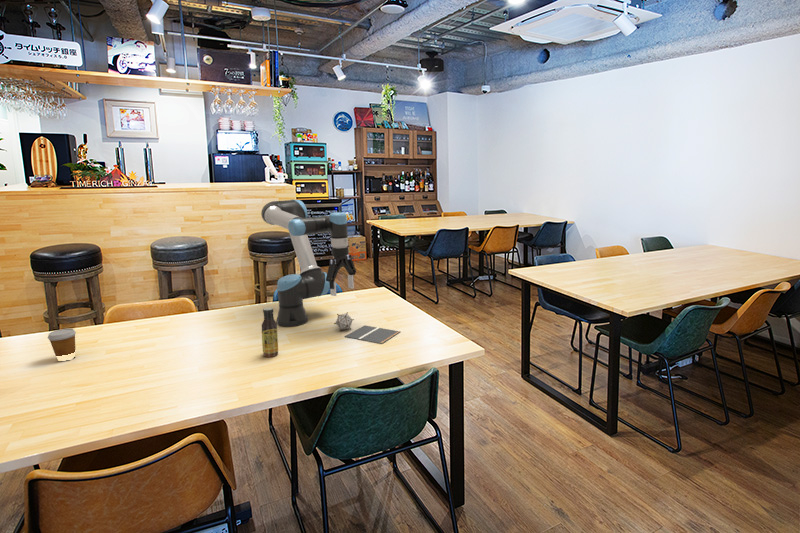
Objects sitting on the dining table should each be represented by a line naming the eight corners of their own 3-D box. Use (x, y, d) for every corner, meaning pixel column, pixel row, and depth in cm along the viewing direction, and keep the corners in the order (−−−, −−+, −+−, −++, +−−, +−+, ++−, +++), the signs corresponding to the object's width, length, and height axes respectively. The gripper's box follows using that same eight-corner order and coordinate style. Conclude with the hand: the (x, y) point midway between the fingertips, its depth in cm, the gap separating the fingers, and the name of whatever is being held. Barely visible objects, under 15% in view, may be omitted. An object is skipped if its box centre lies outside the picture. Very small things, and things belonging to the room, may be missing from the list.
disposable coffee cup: (85, 355, 194) (80, 329, 192) (63, 364, 185) (57, 336, 183) (69, 353, 197) (64, 327, 195) (47, 362, 188) (41, 334, 186)
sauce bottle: (264, 359, 184) (260, 312, 180) (261, 353, 190) (257, 308, 186) (281, 355, 187) (276, 309, 183) (277, 350, 193) (273, 305, 189)
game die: (348, 337, 215) (352, 325, 208) (330, 332, 215) (334, 319, 208) (353, 323, 222) (357, 311, 215) (336, 318, 221) (340, 305, 214)
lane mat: (344, 337, 206) (344, 336, 206) (364, 326, 219) (364, 325, 219) (382, 344, 196) (382, 343, 196) (400, 332, 210) (400, 331, 209)
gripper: (329, 252, 195) (332, 299, 199) (362, 243, 216) (364, 286, 221) (315, 250, 199) (319, 297, 203) (349, 242, 220) (351, 284, 224)
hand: (342, 291), depth 212 cm, fingers open, 13 cm apart
